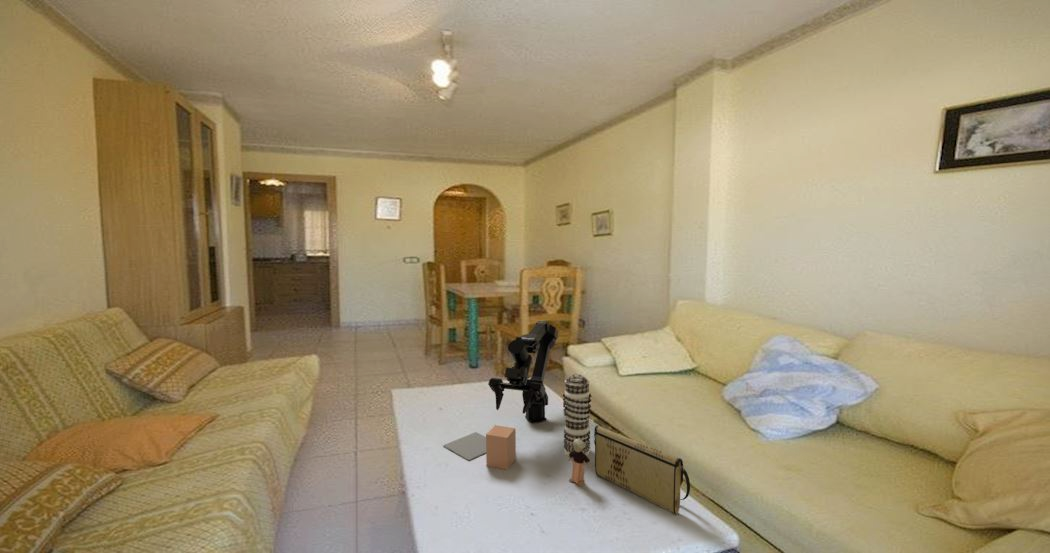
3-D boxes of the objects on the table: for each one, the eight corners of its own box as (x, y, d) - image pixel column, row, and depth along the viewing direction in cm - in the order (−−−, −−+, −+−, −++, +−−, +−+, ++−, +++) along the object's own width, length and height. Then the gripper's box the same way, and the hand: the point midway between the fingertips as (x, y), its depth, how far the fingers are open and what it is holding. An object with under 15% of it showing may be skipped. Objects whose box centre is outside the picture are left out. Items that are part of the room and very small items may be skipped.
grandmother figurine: (563, 482, 126) (563, 439, 125) (568, 475, 130) (568, 434, 128) (589, 489, 123) (589, 445, 121) (593, 482, 126) (594, 439, 125)
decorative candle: (590, 459, 139) (590, 382, 137) (561, 456, 141) (561, 380, 138) (591, 446, 148) (592, 373, 146) (564, 443, 150) (564, 371, 147)
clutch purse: (694, 509, 113) (696, 453, 112) (680, 520, 109) (682, 462, 107) (603, 465, 136) (603, 418, 134) (588, 473, 131) (588, 424, 130)
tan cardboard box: (495, 455, 142) (495, 425, 141) (515, 458, 140) (515, 428, 139) (486, 465, 136) (485, 434, 135) (507, 469, 133) (507, 437, 132)
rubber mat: (475, 433, 158) (475, 432, 158) (501, 445, 148) (501, 444, 148) (443, 446, 148) (443, 445, 148) (468, 461, 139) (468, 459, 138)
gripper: (490, 354, 150) (476, 397, 141) (542, 359, 144) (531, 404, 135) (499, 370, 159) (486, 411, 149) (549, 375, 152) (539, 419, 143)
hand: (510, 411), depth 144 cm, fingers open, 9 cm apart
